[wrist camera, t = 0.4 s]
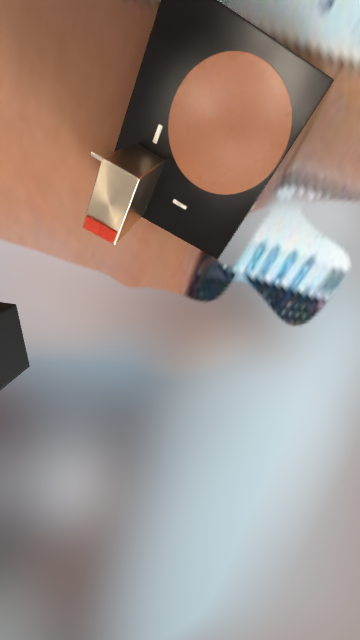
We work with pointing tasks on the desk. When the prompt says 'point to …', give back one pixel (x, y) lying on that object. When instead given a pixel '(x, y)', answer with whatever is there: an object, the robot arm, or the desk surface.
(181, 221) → the hotplate
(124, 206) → the cream block
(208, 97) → the warming ring
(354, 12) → the desk surface
